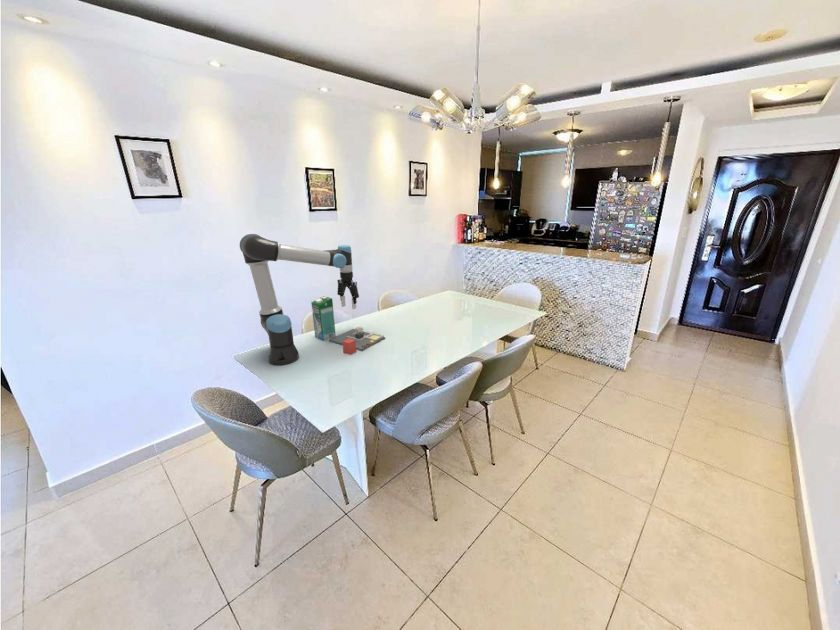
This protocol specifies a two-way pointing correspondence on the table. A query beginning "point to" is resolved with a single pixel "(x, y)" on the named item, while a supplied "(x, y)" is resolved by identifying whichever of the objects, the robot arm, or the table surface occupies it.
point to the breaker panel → (359, 339)
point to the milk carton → (323, 318)
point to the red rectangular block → (349, 346)
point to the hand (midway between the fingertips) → (348, 307)
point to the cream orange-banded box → (358, 329)
